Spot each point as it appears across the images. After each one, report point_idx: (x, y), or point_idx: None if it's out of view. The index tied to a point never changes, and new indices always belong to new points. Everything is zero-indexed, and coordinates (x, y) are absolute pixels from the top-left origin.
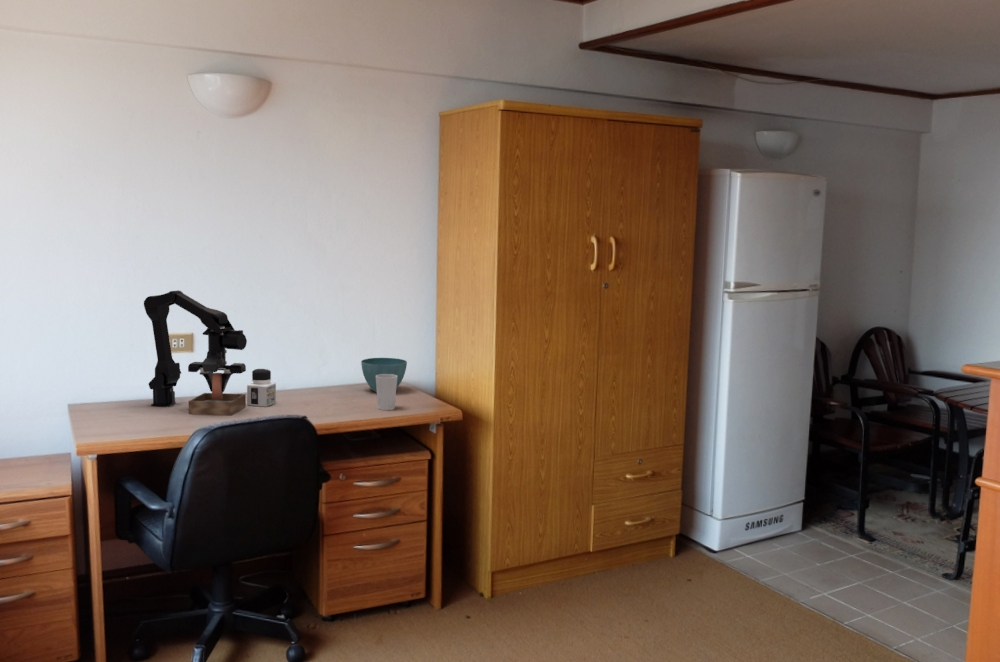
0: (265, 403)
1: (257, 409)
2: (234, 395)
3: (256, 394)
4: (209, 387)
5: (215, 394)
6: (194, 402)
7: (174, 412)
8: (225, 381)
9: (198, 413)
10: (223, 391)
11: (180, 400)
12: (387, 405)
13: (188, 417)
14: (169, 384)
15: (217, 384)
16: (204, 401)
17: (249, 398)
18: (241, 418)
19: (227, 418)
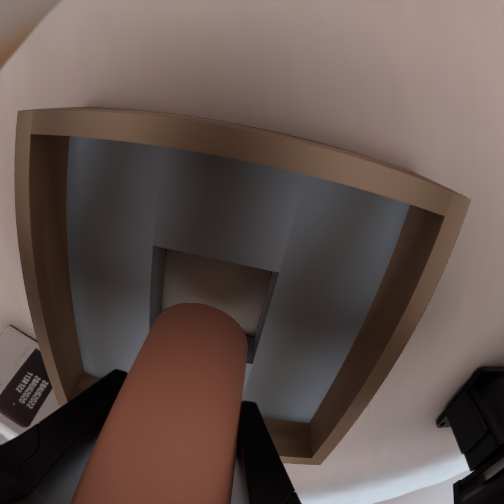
0: (2, 334)
1: (14, 278)
2: None
3: (16, 386)
4: (269, 438)
5: (194, 341)
6: (415, 177)
7: (486, 237)
8: (15, 437)
9: (345, 150)
10: (115, 377)
11: (405, 452)
12: None
13: (401, 52)
14: (478, 480)
15: (129, 437)
16: (307, 157)
17: None
18: (31, 37)
19: (102, 14)
